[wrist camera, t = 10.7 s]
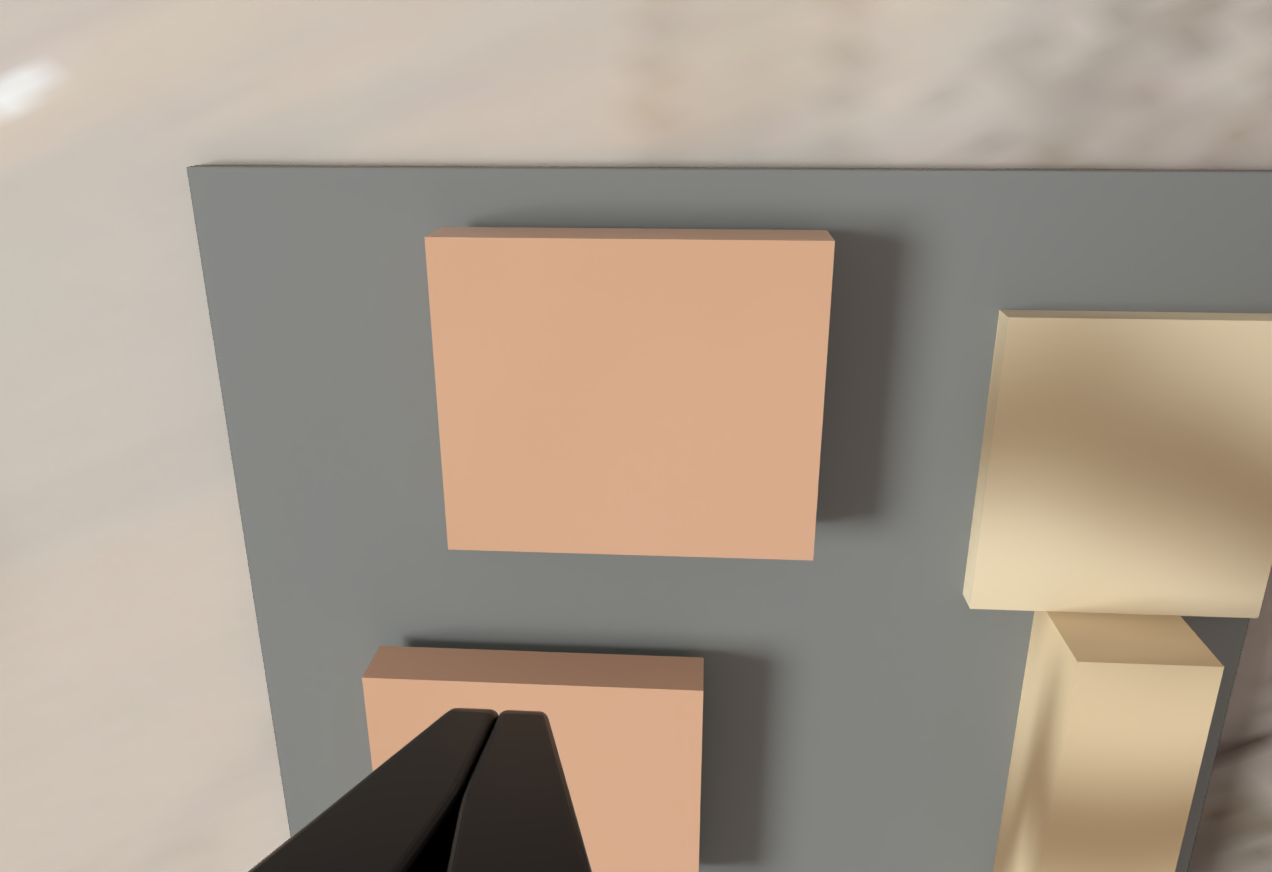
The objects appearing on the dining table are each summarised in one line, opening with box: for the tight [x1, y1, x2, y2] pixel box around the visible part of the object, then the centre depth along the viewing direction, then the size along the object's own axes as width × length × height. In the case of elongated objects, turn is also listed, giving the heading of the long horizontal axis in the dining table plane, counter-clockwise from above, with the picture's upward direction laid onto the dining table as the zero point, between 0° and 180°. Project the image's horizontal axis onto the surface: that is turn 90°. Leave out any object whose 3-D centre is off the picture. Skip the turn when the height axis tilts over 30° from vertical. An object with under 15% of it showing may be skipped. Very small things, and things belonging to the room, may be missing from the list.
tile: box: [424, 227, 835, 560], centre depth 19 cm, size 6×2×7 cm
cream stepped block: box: [963, 310, 1272, 872], centre depth 20 cm, size 15×6×2 cm, turn 0°
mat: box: [187, 165, 1272, 872], centre depth 21 cm, size 18×21×1 cm
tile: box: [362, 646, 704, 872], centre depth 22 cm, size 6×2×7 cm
